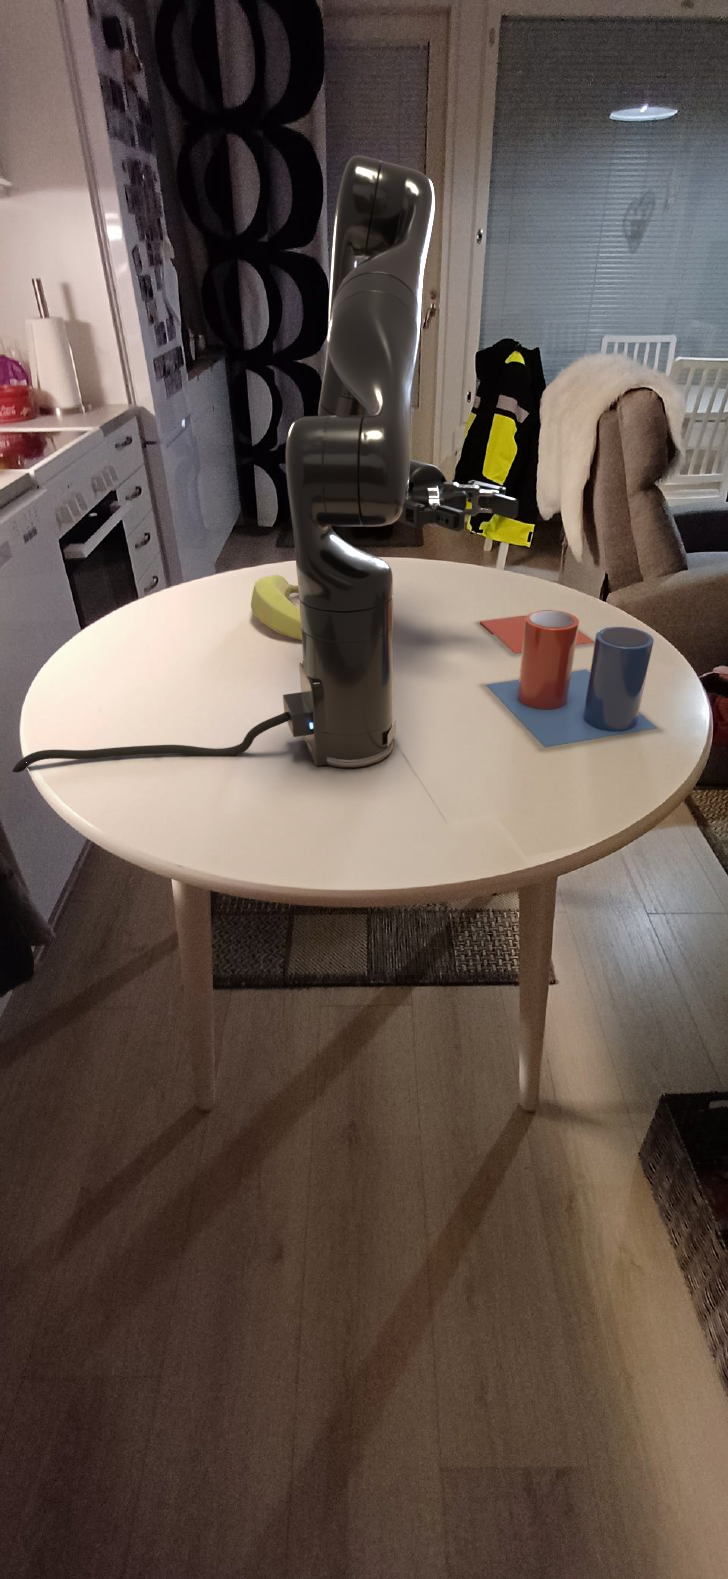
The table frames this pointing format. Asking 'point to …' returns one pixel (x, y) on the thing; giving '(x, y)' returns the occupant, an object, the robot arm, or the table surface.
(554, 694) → the red cup
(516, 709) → the blue mat
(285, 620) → the banana
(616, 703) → the blue cup
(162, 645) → the table surface
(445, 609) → the table surface
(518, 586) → the table surface
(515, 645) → the red mat
